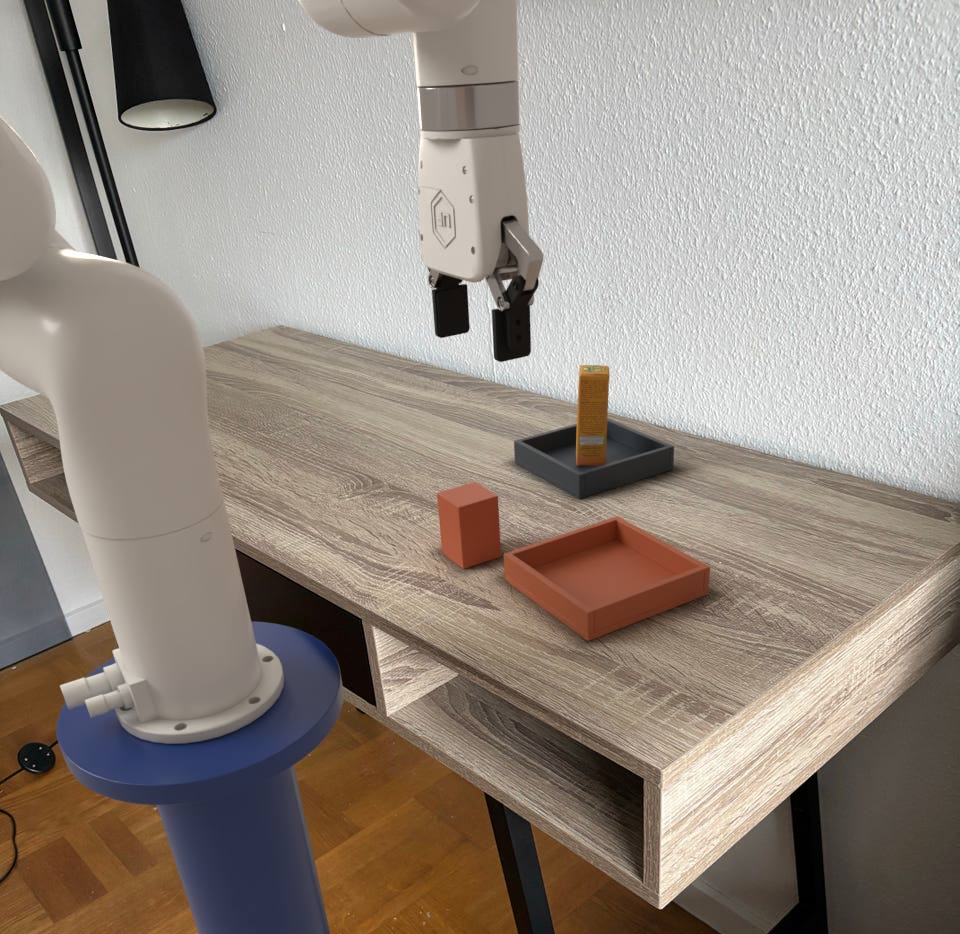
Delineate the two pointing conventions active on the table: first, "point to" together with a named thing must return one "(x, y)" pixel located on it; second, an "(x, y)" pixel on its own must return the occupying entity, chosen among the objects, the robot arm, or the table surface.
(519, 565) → the terracotta tray
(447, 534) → the terracotta block
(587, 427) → the supplement box
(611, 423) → the slate tray
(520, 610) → the table surface
